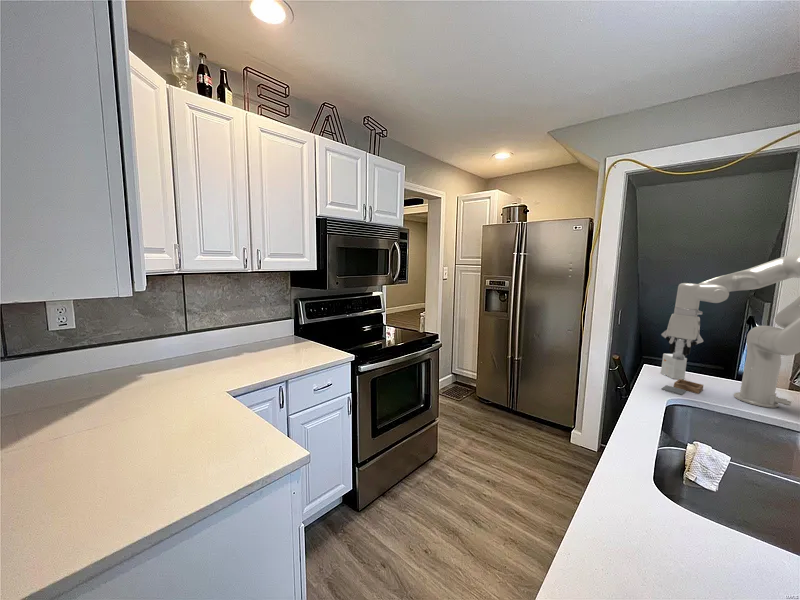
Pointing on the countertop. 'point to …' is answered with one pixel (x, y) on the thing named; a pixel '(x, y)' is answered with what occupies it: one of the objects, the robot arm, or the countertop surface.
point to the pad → (673, 390)
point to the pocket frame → (688, 386)
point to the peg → (679, 349)
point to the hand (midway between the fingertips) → (679, 353)
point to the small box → (673, 367)
